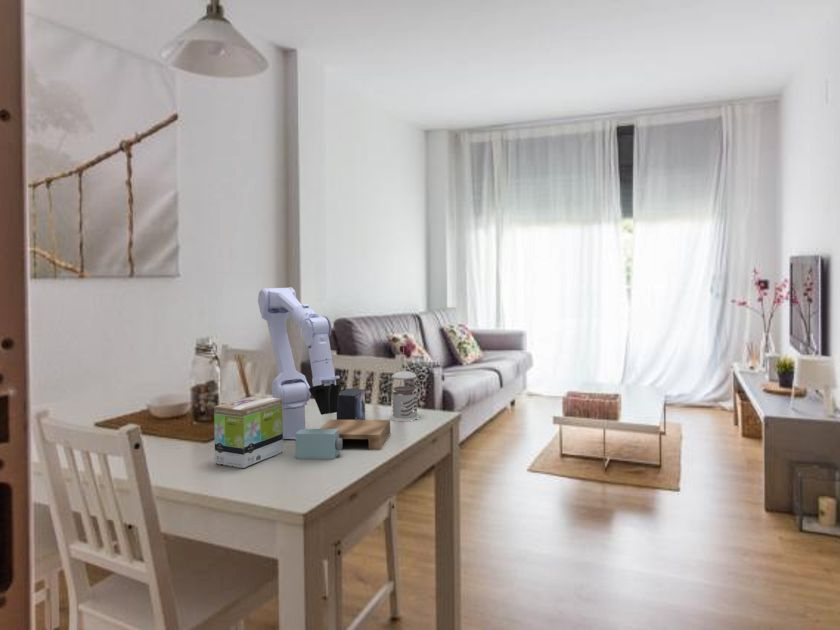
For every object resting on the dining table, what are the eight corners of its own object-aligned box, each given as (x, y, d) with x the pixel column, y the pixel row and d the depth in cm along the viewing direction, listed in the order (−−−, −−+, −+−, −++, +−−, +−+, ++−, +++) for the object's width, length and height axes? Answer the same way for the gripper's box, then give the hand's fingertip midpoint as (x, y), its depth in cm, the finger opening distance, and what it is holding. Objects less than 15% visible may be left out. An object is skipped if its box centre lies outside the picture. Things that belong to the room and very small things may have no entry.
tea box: (245, 469, 143) (243, 409, 142) (214, 464, 147) (211, 406, 146) (284, 452, 157) (282, 397, 156) (255, 448, 161) (252, 394, 160)
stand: (314, 448, 159) (313, 433, 159) (330, 432, 175) (329, 419, 175) (379, 449, 157) (379, 434, 157) (390, 433, 173) (390, 420, 173)
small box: (356, 429, 179) (355, 395, 178) (335, 428, 180) (334, 394, 179) (366, 420, 189) (365, 388, 188) (347, 420, 190) (346, 388, 190)
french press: (383, 418, 192) (381, 341, 190) (409, 412, 200) (408, 338, 198) (404, 423, 185) (402, 343, 183) (430, 416, 193) (428, 340, 191)
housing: (296, 458, 151) (295, 433, 151) (302, 452, 156) (301, 428, 156) (339, 459, 150) (338, 434, 149) (343, 453, 155) (343, 429, 154)
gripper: (328, 357, 148) (336, 411, 146) (343, 360, 163) (351, 409, 161) (301, 363, 149) (309, 416, 147) (318, 365, 163) (326, 414, 161)
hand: (329, 413), depth 154 cm, fingers open, 7 cm apart
